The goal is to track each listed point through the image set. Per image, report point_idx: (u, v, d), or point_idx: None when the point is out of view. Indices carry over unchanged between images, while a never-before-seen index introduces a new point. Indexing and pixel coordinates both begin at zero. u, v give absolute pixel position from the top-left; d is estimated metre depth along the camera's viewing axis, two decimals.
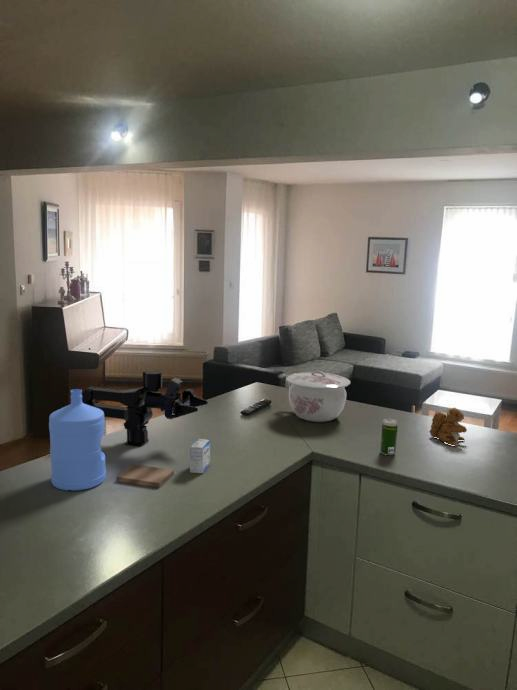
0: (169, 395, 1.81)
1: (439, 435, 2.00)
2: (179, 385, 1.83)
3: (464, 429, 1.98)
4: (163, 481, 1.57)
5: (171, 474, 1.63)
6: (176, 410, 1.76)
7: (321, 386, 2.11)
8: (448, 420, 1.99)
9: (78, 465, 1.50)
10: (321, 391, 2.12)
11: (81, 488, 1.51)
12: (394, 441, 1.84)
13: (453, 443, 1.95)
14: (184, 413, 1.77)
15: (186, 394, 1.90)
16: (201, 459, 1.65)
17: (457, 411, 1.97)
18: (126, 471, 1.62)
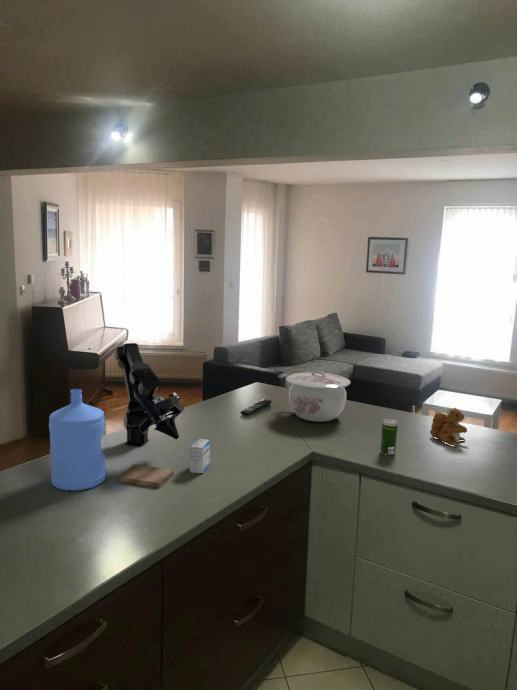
0: (158, 408, 1.70)
1: (439, 435, 2.00)
2: None
3: (465, 429, 1.98)
4: (163, 481, 1.57)
5: (171, 474, 1.63)
6: (160, 425, 1.71)
7: (321, 386, 2.11)
8: (448, 420, 1.98)
9: (78, 465, 1.50)
10: (321, 391, 2.12)
11: (81, 488, 1.51)
12: (394, 441, 1.84)
13: (454, 443, 1.95)
14: (164, 432, 1.72)
15: (175, 409, 1.79)
16: (201, 459, 1.65)
17: (457, 411, 1.97)
18: (126, 471, 1.62)
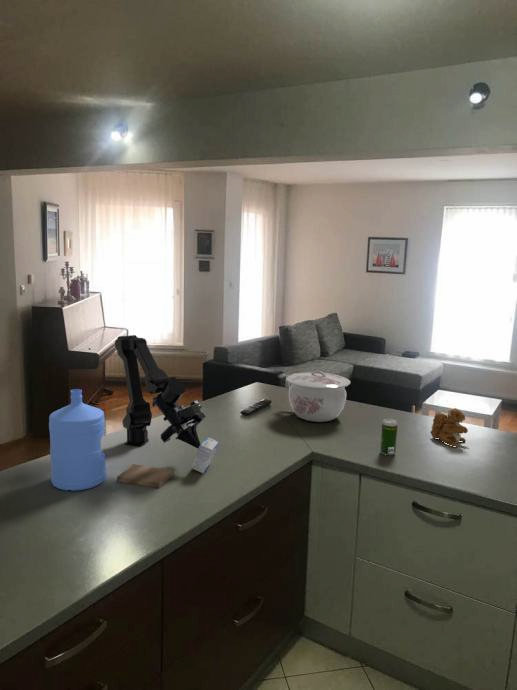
0: (179, 416, 1.66)
1: (440, 436, 1.99)
2: None
3: (465, 430, 1.97)
4: (163, 481, 1.57)
5: (171, 474, 1.63)
6: (181, 434, 1.66)
7: (321, 386, 2.11)
8: (449, 421, 1.98)
9: (78, 465, 1.50)
10: (321, 391, 2.12)
11: (81, 488, 1.51)
12: (394, 441, 1.84)
13: (454, 444, 1.94)
14: (186, 441, 1.67)
15: (196, 417, 1.75)
16: (206, 460, 1.64)
17: (458, 412, 1.97)
18: (126, 471, 1.62)
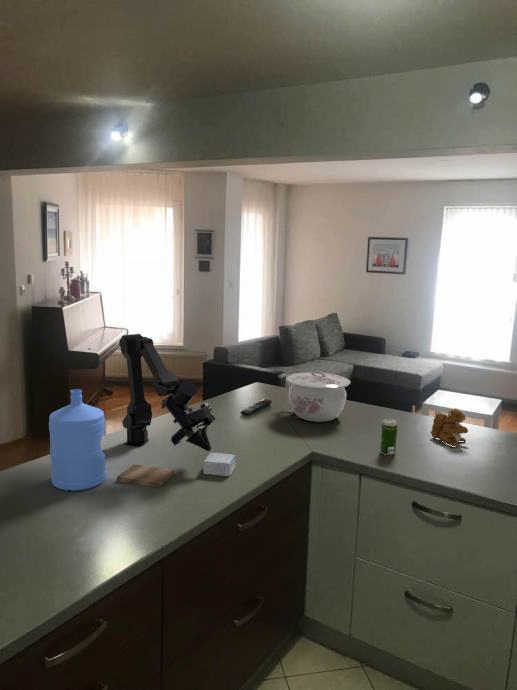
0: (190, 419, 1.64)
1: (440, 436, 1.99)
2: None
3: (465, 430, 1.97)
4: (163, 481, 1.57)
5: (171, 474, 1.63)
6: (192, 437, 1.65)
7: (321, 386, 2.11)
8: (449, 421, 1.98)
9: (78, 465, 1.50)
10: (321, 391, 2.12)
11: (81, 488, 1.51)
12: (394, 441, 1.84)
13: (454, 444, 1.94)
14: (196, 444, 1.66)
15: None
16: (217, 474, 1.64)
17: (458, 412, 1.96)
18: (126, 471, 1.62)
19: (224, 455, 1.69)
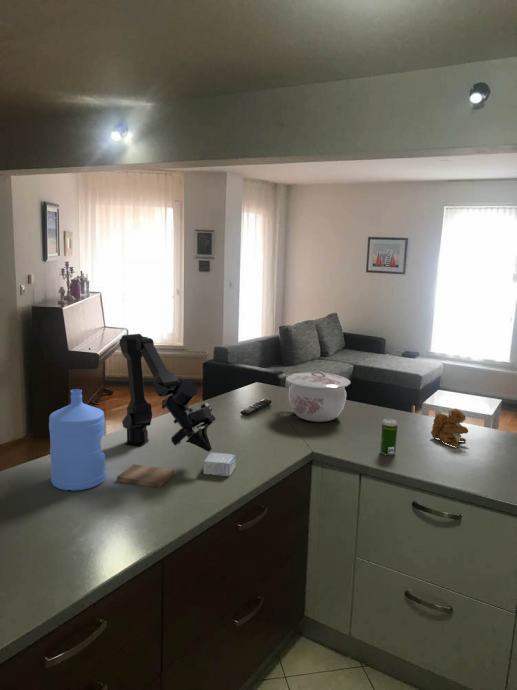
0: (190, 419, 1.64)
1: (440, 436, 1.99)
2: None
3: (466, 430, 1.97)
4: (163, 481, 1.57)
5: (171, 474, 1.63)
6: (192, 437, 1.65)
7: (321, 386, 2.11)
8: (449, 421, 1.98)
9: (78, 465, 1.50)
10: (321, 391, 2.12)
11: (81, 488, 1.51)
12: (394, 441, 1.84)
13: (455, 444, 1.94)
14: (197, 444, 1.66)
15: (207, 419, 1.73)
16: (217, 474, 1.64)
17: (459, 412, 1.96)
18: (126, 471, 1.62)
19: (224, 455, 1.69)
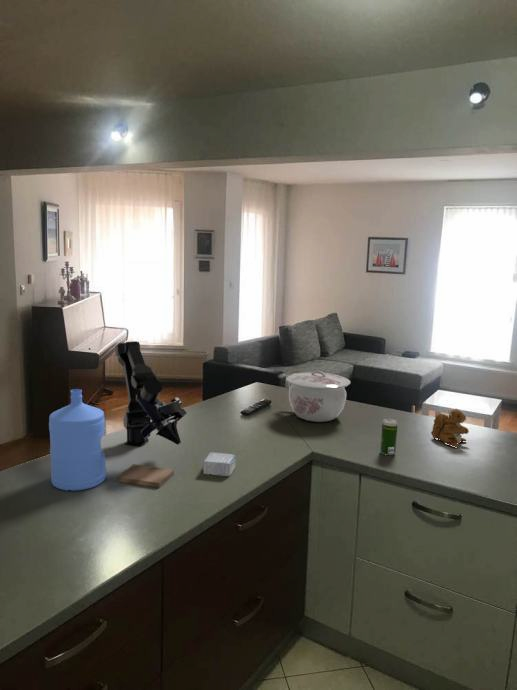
0: (160, 413, 1.69)
1: (441, 436, 1.98)
2: None
3: (466, 430, 1.97)
4: (163, 481, 1.57)
5: (171, 474, 1.63)
6: (162, 430, 1.70)
7: (321, 386, 2.11)
8: (450, 421, 1.97)
9: (78, 465, 1.50)
10: (321, 391, 2.12)
11: (81, 488, 1.51)
12: (394, 441, 1.84)
13: (455, 444, 1.94)
14: (166, 437, 1.71)
15: (177, 413, 1.78)
16: (217, 474, 1.64)
17: (459, 412, 1.96)
18: (126, 471, 1.62)
19: (224, 455, 1.69)
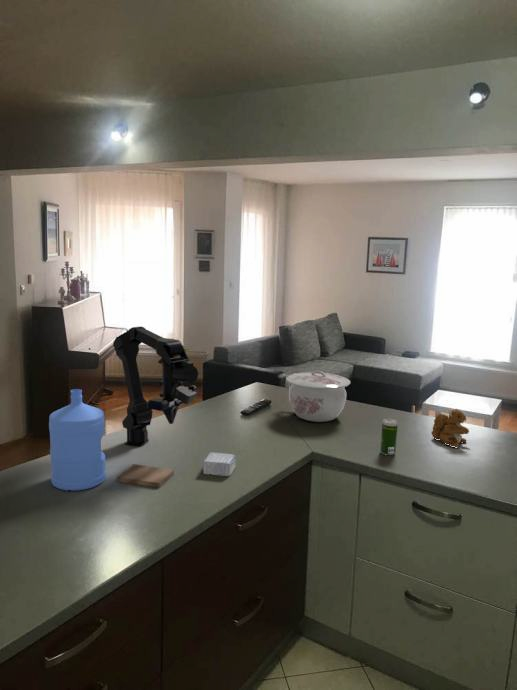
0: (174, 394, 1.70)
1: (441, 437, 1.98)
2: None
3: (466, 430, 1.97)
4: (163, 481, 1.57)
5: (171, 474, 1.63)
6: None
7: (321, 386, 2.11)
8: (450, 421, 1.97)
9: (78, 465, 1.50)
10: (321, 391, 2.12)
11: (81, 488, 1.51)
12: (394, 441, 1.84)
13: (455, 445, 1.93)
14: (164, 412, 1.74)
15: None
16: (217, 474, 1.64)
17: (459, 412, 1.96)
18: (126, 471, 1.62)
19: (224, 455, 1.69)
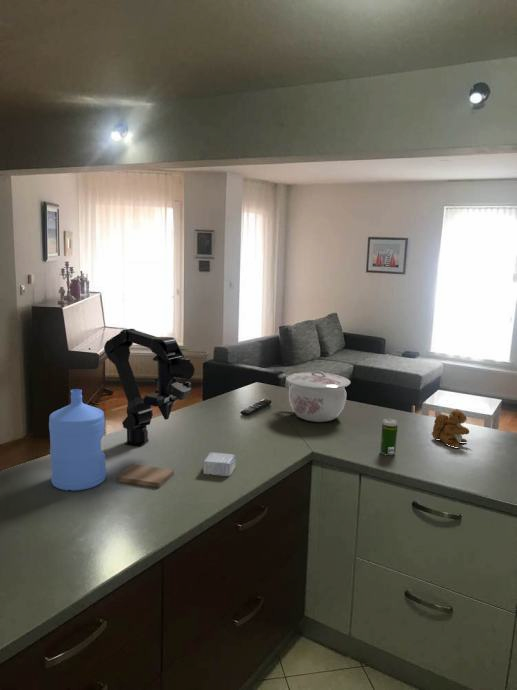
0: (169, 390, 1.74)
1: (441, 437, 1.98)
2: None
3: (467, 431, 1.96)
4: (163, 481, 1.57)
5: (171, 474, 1.63)
6: None
7: (321, 386, 2.11)
8: (450, 422, 1.97)
9: (78, 465, 1.50)
10: (321, 391, 2.12)
11: (81, 488, 1.51)
12: (394, 441, 1.84)
13: (456, 445, 1.93)
14: (160, 408, 1.79)
15: None
16: (217, 474, 1.64)
17: (460, 413, 1.95)
18: (126, 471, 1.62)
19: (224, 455, 1.69)
